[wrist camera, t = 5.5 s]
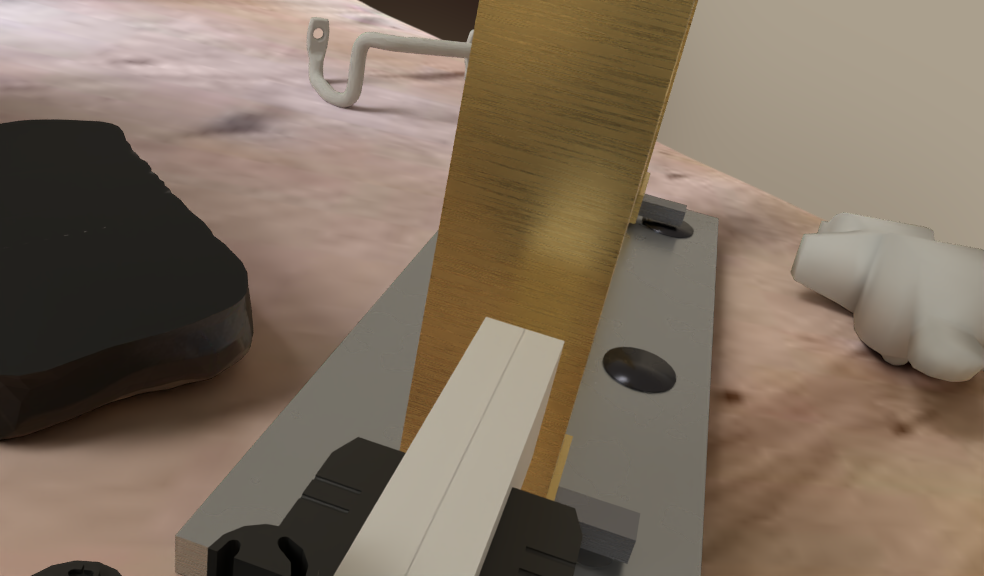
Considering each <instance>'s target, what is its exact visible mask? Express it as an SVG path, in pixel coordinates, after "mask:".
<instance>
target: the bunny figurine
mask: <svg viewBox="0 0 984 576" xmlns="http://www.w3.org/2000/svg"><path fill="white" fill-rule="evenodd" d="M791 274H792V276H793V278H794V280H795V281H797V282H799V283H800V284H802V285H804V286H806V287H808V288H810V289H812V290H814V291H815V292H817V293H819V294H821V295H823V296H825V297H827V298H829V299H830V300H832V301H834V302H836V303H838V304H839V305H841V306H843V307H844V308H846V309H847V310H849V311H850V312H852V313H853V318H854V329H855V331H856V333H857V334H858V336H859V338H860V339H861V340H862V341H863V342H864V343H865V344H866V345H867V346H869V347H870V348H872V349H873V350H875V351H877V352H878V353H880V354H881V355H882V357H883V359H884V360H885V361H886V362H888V363H890V364H892V365H904V364H906V363H907V362H908V361H909V362H910V364H911V365H912V367H913V368H915V369H917V370H918V371H920V372H922V373H924V374H926V375H928V376H930V377H934V378H938V379H941V380H945V381H949V382H962V381H967V380H970V379H971V378H972V377H973V376H974V375H976V374H977V373H978V372H979V371H984V250H982V249H978V248H972V247H967V246H962V245H956V244H950V243H945V242H939V241H935V240H934V231H933V230H932V229H929V228H927V227H922V226H917V225H912V224H906V223H901V222H895V221H890V220H884V219H878V218H873V217H867V216H862V215H856V214H851V213H845V212H843V213H840V214H837V215H835V216H834V217H833V218H832V219H831V220H830V221H829V222H826V221H821V224H820V227H819V230H818V232H817V233H814V234H804V235H803V237H802V240H801V243H800V246H799V249H798V252H797V255H796V258H795V260H794V263H793V266H792V269H791Z"/></svg>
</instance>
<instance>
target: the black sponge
mask: <svg viewBox="0 0 984 576" xmlns="http://www.w3.org/2000/svg"><path fill="white" fill-rule="evenodd" d="M252 336H253V321H252V310H251V303H250V295H249V288H248V277H247V271H246V269H245V267H244V265H243V263H242V262H241V261H240V260H239V258H238V257H237V256H236V255H235V254H234V253H233V252H232V251H231V250H230V249H229V248H228V247H227V246H226V245H225V244H224V243H222V242H221V241H220V240H219V239H217V238H216V237H215V236H214V235H213V234H212V232H211V230H210V229H209V228H208V227H207V225H206V224H205V223H204V222H203V221H202V220H201V219H199V218H198V217H197V216H195V215H194V214H193V213H192V212H191V211H190V210H189V209H188V208H187V207H186V206H185V205H184V203H183V202H182V201H181V200H180V199H179V198H177V197H176V196H175V195H173V194H172V193H171V191H170V189H169V188H167V187H166V186H165V184H164V182H163V181H161V180H160V179H159V177H158V176H157V175H156V174H155V173H153V172H152V171H151V167H150V166H149V165H148V163H147V162H146V161H144V160H141V159H140V158H139V156H138V155H137V154H136V153H135V152H134V151H133V150H132V148H131V146H130V144H129V143H128V142H127V141H126V139H125V136H124V133H123V131H122V130H121V129H120V128H119V127H118V126H116V125H114V124H111V123H106V122H99V121H79V120H23V121H15V122H8V123H2V124H0V440H1V439H7V438H13V437H20V436H25V435H28V434H30V433H33V432H36V431H39V430H41V429H44V428H47V427H49V426H52V425H55V424H58V423H61V422H64V421H67V420H70V419H72V418H74V417H77V416H79V415H81V414H84V413H86V412H89V411H91V410H93V409H96V408H98V407H100V406H103V405H105V404H107V403H110V402H113V401H116V400H120V399H123V398H126V397H130V396H133V395H137V394H140V393H145V392H151V391H156V390H163V389H171V388H174V387H177V386H180V385H183V384H187V383H192V382H196V381H201V380H206V379H211V378H213V377H214V376H216V375H218V374H219V373H221V372H222V371H224V370H225V369H227V368H228V367H230V366H231V365H233V364H235V363H236V362H238V361H239V360H241V359H242V358H243V356H244V355H245V354H246V353H247V352H248V350H249V348H250V346H251V341H252Z"/></svg>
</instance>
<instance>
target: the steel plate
mask: <svg viewBox="0 0 984 576" xmlns="http://www.w3.org/2000/svg"><path fill="white" fill-rule="evenodd" d="M438 231H439V230H438ZM438 231H437V232H436V233H435V235H434V236H433V237H432V238H431V239H430V240H429V241H428V243H427V244H426V245H425V246H424V247H423V248H422V250H421V251H420V252H419V253H418V254H417V255H416V257H415V258H414V259H413V260H412V261H411V262H410V264H409V265H408V266H407V267H406V268H405V269H404V271H403V272H402V273H401V274H400V275H399V276H398V277H397V279H396V280H395V281H394V282H393V283H392V284H391V286H390V287H389V288H388V289H387V290H386V291H385V293H384V294H383V295H382V296H381V297H380V298H379V300H378V301H377V302H376V303H375V304H374V305H373V307H372V308H371V309H370V310H369V311H368V312H367V314H366V315H365V316H364V317H363V318H362V319H361V320H360V322H359V323H358V324H357V325H356V326H355V327H354V329H353V330H352V331H351V332H350V333H349V334H348V336H347V337H346V338H345V339H344V340H343V341H342V343H341V344H340V345H339V346H338V347H337V348H336V350H335V351H334V352H333V353H332V354H331V355H330V356H329V358H328V359H327V360H326V361H325V362H324V363H323V365H322V366H321V367H320V368H319V369H318V370H317V372H316V373H315V374H314V375H313V376H312V377H311V379H310V380H309V381H308V382H307V383H306V384H305V386H304V387H303V388H302V389H301V390H300V391H299V393H298V394H297V395H296V396H295V397H294V398H293V399H292V401H291V402H290V403H289V404H288V405H287V406H286V408H285V409H284V410H283V411H282V412H281V413H280V415H279V416H278V417H277V418H276V419H275V420H274V422H273V423H272V424H271V425H270V426H269V427H268V429H267V430H266V431H265V432H264V433H263V434H262V435H261V437H260V438H259V439H258V440H257V441H256V442H255V444H254V445H253V446H252V447H251V448H250V449H249V451H248V452H247V453H246V454H245V455H244V456H243V458H242V459H241V460H240V461H239V462H238V463H237V465H236V466H235V467H234V468H233V469H232V470H231V472H230V473H229V474H228V475H227V476H226V477H225V478H224V480H223V481H222V482H221V483H220V484H219V485H218V487H217V488H216V489H215V490H214V491H213V492H212V494H211V495H210V496H209V497H208V498H207V499H206V501H205V502H204V503H203V504H202V505H201V506H200V508H199V509H198V510H197V511H196V512H195V513H194V514H193V516H192V517H191V518H190V519H189V520H188V521H187V523H186V524H185V525H184V526H183V527H182V528H181V530H180V531H179V532H178V533H177V534H176V535H175V572H176V573H178V574H181V575H184V576H207V555H208V547H209V546H211V545H212V544H213V543H214V542H215V541H216V540H218V539H219V538H220V537H221V536H222V535H223V534H226V533H228V532H230V531H233V530H235V529H238V528H240V527H243V526H249V525H259V524H270V525H275V526H279V525H280V524H281V522H282V521H283V519H284V518H285V517H286V515H287V514H288V512H289V511H290V510H291V508H292V507H293V506H294V504H295V503H296V501H297V500H298V499H299V498H301V496H302V493H303V492H304V490H305V489H306V487H307V486H308V485H309V483H310V482H311V481H312V479H313V480H314V478H315V475H316V474H317V472H318V471H319V469H320V468H321V467H322V465H323V464H324V462H325V461H326V460H327V458H328V457H329V456H330V454H331V453H332V452H333V451H335V450H337V449H338V448H340V447H342V446H343V445H345V444H347V443H348V442H350V441H352V440H354V439H355V438H357V437H360V438H363V439H366V440H369V441H372V442H375V443H378V444H381V445H384V446H387V447H390V448H393V449H396V450H399V451H400V445H401V439H402V434H403V428H404V422H405V417H406V411H407V405H408V400H409V394H410V389H411V383H412V377H413V372H414V366H415V360H416V355H417V349H418V344H419V338H420V332H421V327H422V321H423V315H424V310H425V304H426V298H427V293H428V287H429V282H430V276H431V270H432V265H433V259H434V253H435V248H436V242H437V236H438ZM717 238H718V218H715V217H712V216H708V215H705V214H701V213H697V212H694V211H690V210H686V213H685V216H684V219H683V222H682V225H681V227H678V226H674V225H671V224H667V223H664V222H660V221H657V220H653V219H649V218H646V217H642V216H639V215H638V217H637V220H636V223H635V224H632V223H629V224H628V227H627V231H626V234H625V237H624V241H623V244H622V247H621V251H620V254H619V258H618V261H617V264H616V268H615V271H614V274H613V278H612V281H611V284H610V288H609V291H608V294H607V298H606V301H605V304H604V308H603V311H602V315H601V318H600V321H599V325H598V328H597V331H596V335H595V338H594V341H593V345H592V348H591V351H590V355H589V358H588V361H587V365H586V368H585V372H584V375H583V378H582V382H581V385H580V388H579V392H578V395H577V398H576V402H575V405H574V408H573V412H572V415H571V418H570V422H569V425H568V428H567V432H566V434H567V435H570V436H573V438H572V442H571V445H570V449H569V452H568V456H567V459H566V462H565V466H564V469H563V473H562V476H561V479H560V483H559V486H560V487H563V488H566V489H569V490H572V491H575V492H578V493H581V494H584V495H587V496H590V497H593V498H596V499H599V500H602V501H605V502H608V503H611V504H614V505H617V506H620V507H623V508H626V509H629V510H632V511H635V512H638V513H640V519H639V525H638V532H637V539H636V543H635V545H634V548H633V550H632V553H631V556H630V558H629V561H628V564H626V563H623V562H620V561H617V560H614V559H611V558H608V557H606V556H603V555H600V554H597V553H594V552H591V551H588V550H585V549H582V548H580V550H579V555H578V559H577V563H576V566H575V571H574V575H573V576H701V561H702V541H703V521H704V501H705V481H706V460H707V440H708V420H709V400H710V380H711V359H712V339H713V319H714V299H715V279H716V259H717Z"/></svg>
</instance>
